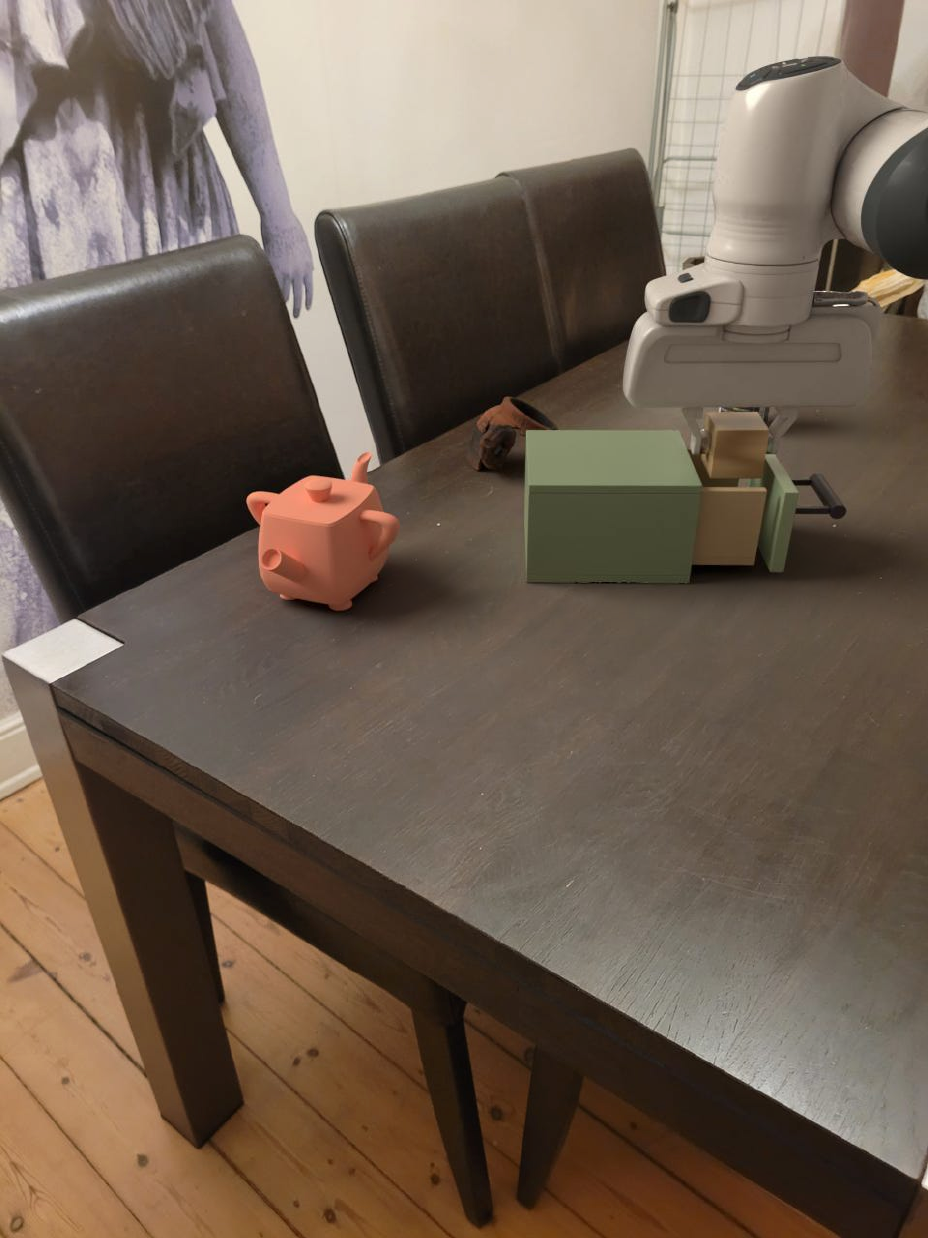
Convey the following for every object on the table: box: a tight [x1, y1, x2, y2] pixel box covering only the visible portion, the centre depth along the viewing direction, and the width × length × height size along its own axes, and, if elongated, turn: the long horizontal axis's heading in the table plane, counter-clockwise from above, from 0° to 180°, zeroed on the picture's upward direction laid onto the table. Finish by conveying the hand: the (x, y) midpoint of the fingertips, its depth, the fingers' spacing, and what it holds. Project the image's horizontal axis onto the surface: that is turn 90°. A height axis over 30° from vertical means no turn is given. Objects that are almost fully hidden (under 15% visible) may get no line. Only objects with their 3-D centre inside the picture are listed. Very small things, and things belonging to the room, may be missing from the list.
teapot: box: [246, 451, 401, 612], centre depth 81 cm, size 14×12×10 cm
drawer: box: [685, 445, 847, 573], centre depth 85 cm, size 19×11×8 cm, turn 88°
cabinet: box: [523, 429, 702, 585], centre depth 86 cm, size 15×13×10 cm
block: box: [701, 411, 770, 480], centre depth 82 cm, size 4×4×4 cm
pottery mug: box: [465, 396, 559, 472], centre depth 104 cm, size 12×10×8 cm
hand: (732, 452), depth 82 cm, fingers closed on block, 4 cm apart
